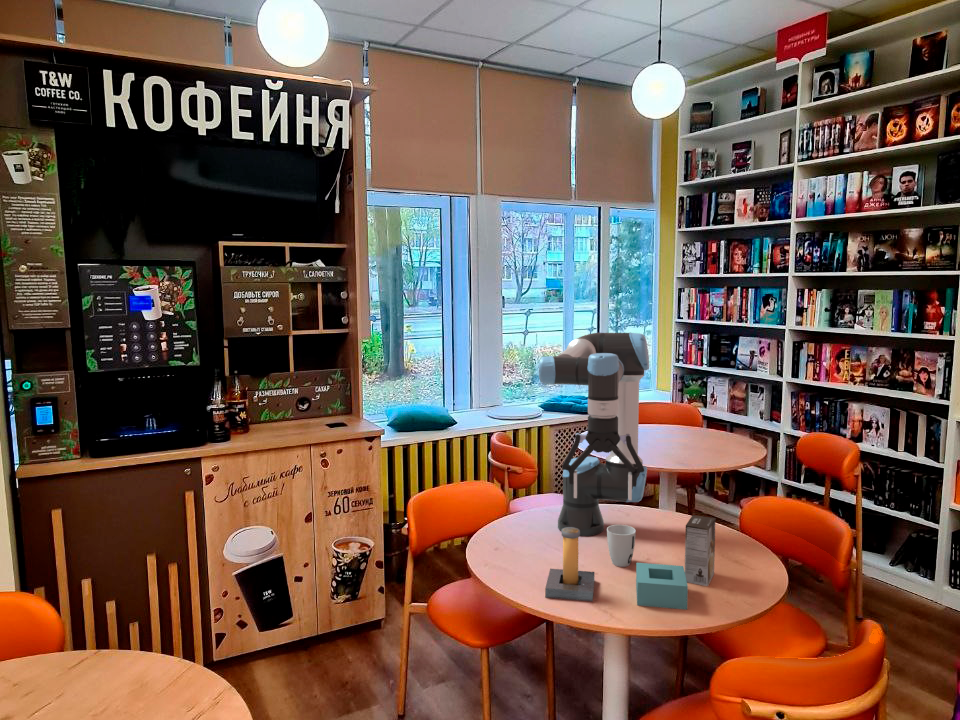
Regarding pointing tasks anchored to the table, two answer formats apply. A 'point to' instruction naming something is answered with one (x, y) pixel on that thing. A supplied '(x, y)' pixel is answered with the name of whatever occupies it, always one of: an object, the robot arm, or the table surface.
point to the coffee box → (700, 550)
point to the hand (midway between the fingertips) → (602, 497)
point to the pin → (570, 555)
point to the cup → (621, 544)
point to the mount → (570, 586)
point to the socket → (661, 586)
